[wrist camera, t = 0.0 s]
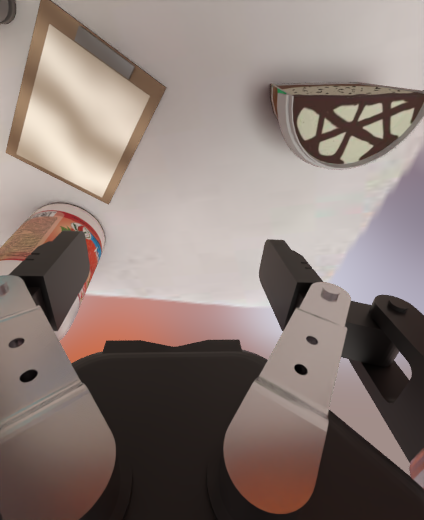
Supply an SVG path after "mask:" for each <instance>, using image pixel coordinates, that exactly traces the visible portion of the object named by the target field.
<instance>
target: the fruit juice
mask: <svg viewBox="0 0 424 520" xmlns="http://www.w3.org/2000/svg"><path fill="white" fill-rule="evenodd" d="M63 230H68V231H83V232H84V234H85V237H86V243H87V250H88V256H89V262H90V272H89V276H88V278H87V280H86V282H85V284H84V285H83V287H82V289H81V291H80V293H79V294H78V296H77V298H76V300H75V302H74V303H73V305H72V307H71V309H70V310H69V312H68V314H67V316H66V318H65V319H64V321H63V323H62V325H61V327H60V328H59V330H58V331H54V333H55V334H56V336H57V338H58V340H59V341H60V340H61V339H62V338H63V337H64V336H65V335H66V333H67V332H68V330H69V328H70V327H71V325H72V323H73V321H74V319H75V317H76V315H77V313H78V310H79V307H80V304H81V302H82V300H83V297H84V295H85V293H86V290H87V288H88V285H89V283H90V281H91V278H92V276H93V273H94V271H95V269H96V266H97V264H98V261H99V259H100V257H101V254H102V252H103V249H104V244H105V237H104V232H103V230H102V228H101V226H100V224H99V223H98V221H97V220H96V219H95V218H94V217H93V216H92V215H90V214H89V213H88V212H86V211H85V210H83V209H81V208H79V207H76V206H73V205H69V204H61V203H58V204H50V205H47V206H44V207H42V208H40V209H38V210H37V211H36V212H34V213H33V214H32V215H31V216H30V217H29V218H28V219H27V220H26V221H25V223H24V224H23V225H22V226H21V227H20V228H19V229H18V230H17V231H16V232H15V233H14V234H13V235H12V236H11V237H10V238H9V239H8V240H7V241H6V242H5V244H4V245H3V246H2V247H1V248H0V276H2V275H9V274H10V273H11V272H12V271H13V270H14V269H15V268H16V267H17V266H18V265H19V264H20V263H21V262H22V261H23V260H25V258H26V257H27V256H29V255H31V253H32V252H33V251H34V250H35V249H36V248H37V247H38V246H40V245H42V244H44V243H46V242H48V241H53V240H54V239H55V238H56V237H57V236H58V235H59V234H60V233H61V232H62V231H63Z"/></svg>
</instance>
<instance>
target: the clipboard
mask: <svg viewBox="0 0 424 520" xmlns="http://www.w3.org/2000/svg"><path fill="white" fill-rule="evenodd" d="M165 89H166V87H165V86H163V85H162V84H161V83H159V82H158V81H157V80H155V79H154V78H153V77H151V76H150V75H149V74H147V73H146V72H145V71H143V70H142V69H141V68H139V67H138V66H137V65H135V64H134V63H133V62H131V61H130V60H129V59H127V58H126V57H125V56H123V55H122V54H121V53H120V52H118V51H117V50H116V49H114V48H113V47H112V46H110V45H109V44H108V43H106V42H105V41H104V40H102V39H101V38H100V37H98V36H97V35H96V34H94V33H93V32H92V31H90V30H89V29H88V28H86V27H85V26H84V25H82V24H81V23H80V22H78V21H77V20H76V19H74V18H73V17H72V16H70V15H69V14H68V13H66V12H65V11H64V10H63V9H61V8H60V7H59V6H57V5H56V4H55V3H53V2H52V1H51V0H41V1H40V6H39V10H38V14H37V19H36V23H35V27H34V32H33V36H32V40H31V45H30V49H29V53H28V58H27V62H26V66H25V71H24V75H23V79H22V84H21V88H20V92H19V97H18V101H17V105H16V110H15V114H14V118H13V123H12V127H11V131H10V136H9V140H8V144H7V149H6V153H7V154H9V155H11V156H13V157H15V158H17V159H19V160H21V161H23V162H25V163H27V164H29V165H31V166H33V167H35V168H37V169H39V170H41V171H43V172H45V173H47V174H49V175H51V176H53V177H55V178H57V179H59V180H61V181H63V182H65V183H67V184H69V185H71V186H73V187H75V188H77V189H79V190H81V191H83V192H85V193H87V194H89V195H91V196H93V197H95V198H97V199H99V200H101V201H103V202H105V203H107V204H109V203H110V201H111V199H112V197H113V195H114V193H115V191H116V188H117V186H118V184H119V182H120V180H121V178H122V176H123V174H124V172H125V170H126V168H127V166H128V164H129V162H130V160H131V158H132V156H133V154H134V152H135V150H136V148H137V146H138V144H139V142H140V140H141V138H142V136H143V134H144V132H145V130H146V128H147V126H148V124H149V122H150V120H151V118H152V116H153V114H154V112H155V110H156V108H157V106H158V104H159V102H160V99H161V97H162V95H163V93H164V91H165Z"/></svg>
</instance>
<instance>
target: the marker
mask: <svg viewBox="0 0 424 520" xmlns="http://www.w3.org/2000/svg"><path fill="white" fill-rule="evenodd" d="M15 14H16V4H15V0H0V24H7V23H10V22H11V21H12V20H13V19H14V17H15Z"/></svg>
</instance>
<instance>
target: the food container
mask: <svg viewBox="0 0 424 520" xmlns="http://www.w3.org/2000/svg"><path fill="white" fill-rule="evenodd" d="M270 99H271V103H272V108H273V112H274V114H275V116H276V117H277V119H278V121H279V125H280V129H281V132H282V135H283V137H284V140H285V142H286V143H287V145H288V146H289V148H290V149H291V150H292V151H293V153H294V154H295V155H296V156H297V157H299V158H300V159H302V160H303V161H305V162H307V163H309V164H311V165H313V166H317V167H321V168H326V169H331V170H343V169H351V168H356V167H360V166H363V165H366V164H369V163H371V162H373V161H376V160H377V159H379V158H381V157H383V156H385V155H386V154H388V153H389V152H390V151H392V150H393V149H395V148H396V147H397V146H398V145H399V144H401V143H402V142H403V141H404V140H405V139H406V138H407V137H408V136H409V135H410V134H411V133H412V132H413V131H414V130H415V128H416V127H417V126H418V125H419V123H420V122H421V121H422V119H423V118H424V90H423V91H420V90H412V89H405V88H397V87H390V86H382V85H374V84H367V83H359V82H348V83H293V84H271V86H270Z"/></svg>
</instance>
